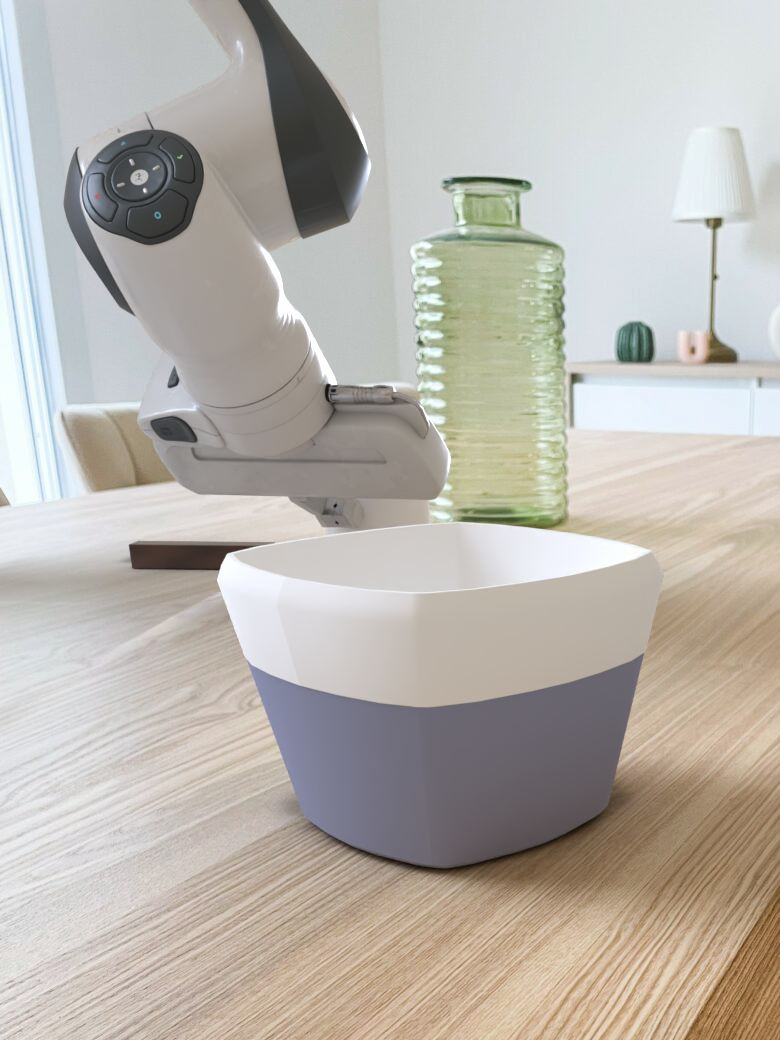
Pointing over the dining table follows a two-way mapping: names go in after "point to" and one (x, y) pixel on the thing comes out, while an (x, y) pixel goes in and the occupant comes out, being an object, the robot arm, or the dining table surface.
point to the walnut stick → (184, 553)
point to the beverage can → (388, 514)
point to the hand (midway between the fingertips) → (344, 520)
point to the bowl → (446, 679)
